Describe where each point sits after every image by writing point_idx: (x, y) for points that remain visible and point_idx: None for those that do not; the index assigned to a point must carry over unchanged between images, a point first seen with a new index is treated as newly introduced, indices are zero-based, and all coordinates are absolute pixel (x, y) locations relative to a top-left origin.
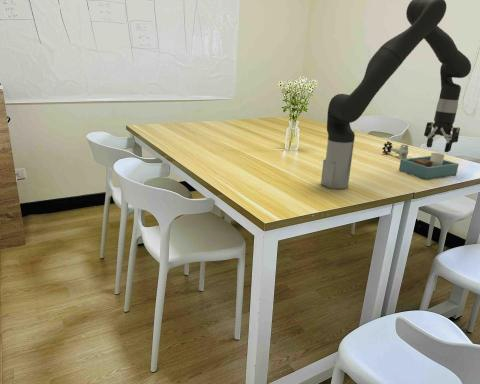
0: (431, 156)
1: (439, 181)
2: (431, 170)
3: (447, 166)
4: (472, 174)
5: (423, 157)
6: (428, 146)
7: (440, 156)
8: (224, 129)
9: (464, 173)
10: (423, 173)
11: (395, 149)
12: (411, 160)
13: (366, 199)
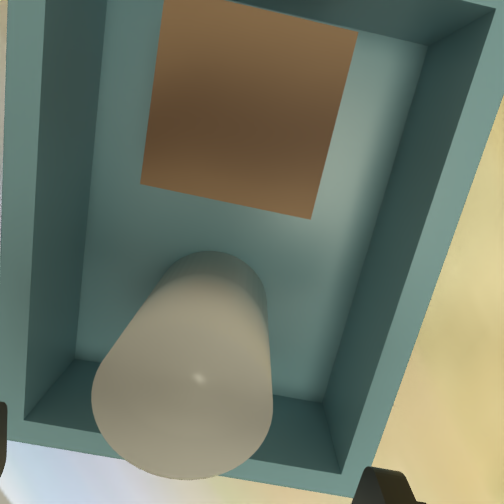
0: (239, 327)
1: (4, 38)
2: None
3: (8, 263)
4: (22, 488)
5: (374, 374)
6: (372, 476)
7: (109, 353)
8: None
9: (65, 466)
10: None
11: None
12: (431, 167)
13: None
